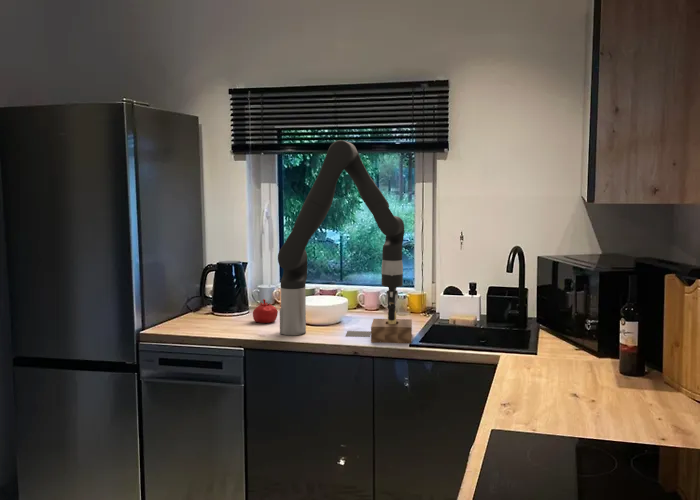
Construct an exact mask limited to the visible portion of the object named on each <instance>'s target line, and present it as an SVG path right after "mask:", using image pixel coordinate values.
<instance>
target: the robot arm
mask: <svg viewBox="0 0 700 500" xmlns="http://www.w3.org/2000/svg"><path fill="white" fill-rule="evenodd" d="M343 171H345V172H346V174H348V176H349V177H350V178H351V180H352V182H353V183H354V186H355V187H356V189H357V191H358V194H359V196H360V198H361V199H362V201H363V203H364V204H365V206H366V207H367V209H368V210H369V211H370V214H372V215H373V218H374V221H375V223H376V225H377V227H378V229H379V230H380V232H381V233H382V234H383V235H384V236H385V237H384V238H385V241H384V244H383V245H382V251H381V253H382V257H381V258H382V260H381V261H382V262H381V286H382V287H387V288H388V290H386V305H387V319H389V320H395V311H396V309H397V308H396V306H397V304H398V303H397V302H398V295H399V291H398V290H397V288H400V287H402V286H403V284H404V277H403V276H404V271H403V270H404V264H403V244H404V237H405V222H404V220H403V219H402V218H401V217H400V216H397V215H394V214H393V213H392V211H391V209H390V204H389V202H388V200H387V199H386V197H385V195H384V194H383V193H382V191H381V190H380V188H379V187H378V186H377V184H376V183H375V181H374V179H373V178H372V176H371V175H370V174H369V172H368V171H367V169H366V167H365V165H364V163H363V161H362V158H361V156H360V155H359V152H358V150H357V148H356V146H355V145H354V144H353V143H352V142H350V141H346V140H341V139H340V140H335V141H334V142H333V143H331V144H330V146H329V148H328V150H327V152H326V154H325V157H324V160H323V163H322V166H321V168H320V171H319V173H318V175H317V177H316V179H315V181H314V182H313V184H312V187H311V188H310V191H309V192H308V194H307V196H306V198H305V200H304V202H303V204H302V207H301V209H300V211H299V212H298V216H297V217H296V220H295V222H294V225H293V227H292V229H291V232H290V233H289V234H288V237H287V238H286V240H285V241H284V243H283V244H282V246H281V248H280V250H279V252H278V254H277V263H278V265H279V266H280V268H282V269H283V273H282V277H281V279H280V308H279V335H285V336H300V335H304V334H306V333H307V319H306V318H307V317H306V314H307V313H306V312H307V311H306V309H307V307H306V306H307V305H306V298H307V297H306V293H307V292H306V284H307V283H306V282H307V277H308V253H307V251H306V248H307V245H308V243H309V242H310V240H311V238H312V236H313V235H314V234H315V233H316V232H317V230H318V229H319V227H320V226H321V224H323V222H324V220H325V219H326V217H327V215H328V214H329V211H330V208H331V207H332V205H333V201H334V197H335V192H336V191H335V190H336V186H337V183H338V181H339V179H340V176H341V175H342V173H343ZM396 312H397V311H396Z"/></svg>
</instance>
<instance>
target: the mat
mask: <svg viewBox="0 0 700 500" xmlns="http://www.w3.org/2000/svg"><path fill="white" fill-rule="evenodd" d="M346 331H347V332H346V333H345V335H344V337H347V338H348V337H352V338H353V337H355V338H357V337H358V338H359V337H360V338H371V330H369V331H367V330H365V331H364V330H363V331H361V330H353V331H352V330H346Z"/></svg>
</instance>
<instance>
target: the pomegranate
mask: <svg viewBox="0 0 700 500" xmlns="http://www.w3.org/2000/svg"><path fill="white" fill-rule="evenodd" d="M262 301H263V302H258V303H257V306H256V307H255V308H254V310H253V311H252V318H253V321H254V322H255V323H259V324H270V323H275V321H276V320H277V318H278V311H279V310H278V309H277V308H276V306H274V304H275V303H274V302H272V303H271V302H269V303H268V302H266V299H265V298H264V299H262Z"/></svg>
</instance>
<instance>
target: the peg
mask: <svg viewBox="0 0 700 500" xmlns="http://www.w3.org/2000/svg"><path fill="white" fill-rule="evenodd" d="M387 319H388V318H387ZM396 319H397V311H395V320H389V319H388V324H396Z"/></svg>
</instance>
